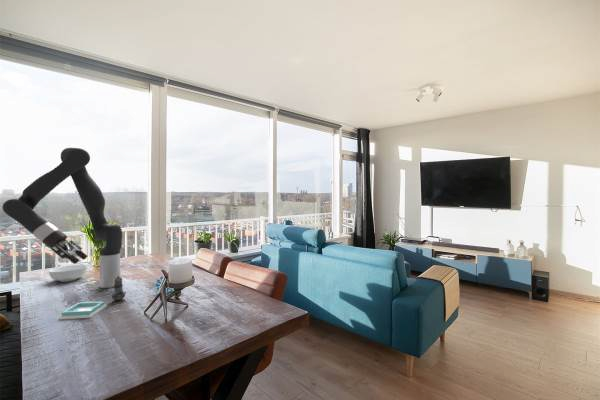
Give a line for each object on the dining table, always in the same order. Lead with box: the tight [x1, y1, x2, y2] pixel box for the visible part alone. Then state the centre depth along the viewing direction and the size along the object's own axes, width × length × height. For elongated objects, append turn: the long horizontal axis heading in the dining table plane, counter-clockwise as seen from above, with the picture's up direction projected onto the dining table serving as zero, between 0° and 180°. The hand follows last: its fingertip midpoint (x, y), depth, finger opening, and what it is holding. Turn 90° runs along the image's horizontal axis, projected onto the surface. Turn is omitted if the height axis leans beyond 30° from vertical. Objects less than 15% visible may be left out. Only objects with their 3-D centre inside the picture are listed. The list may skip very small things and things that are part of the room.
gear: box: [155, 276, 174, 294], centre depth 145 cm, size 11×6×10 cm
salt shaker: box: [110, 276, 127, 305], centre depth 131 cm, size 6×6×12 cm
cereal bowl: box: [48, 264, 88, 283], centre depth 165 cm, size 17×17×7 cm
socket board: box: [58, 301, 108, 320], centre depth 119 cm, size 12×12×2 cm
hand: (81, 260), depth 126 cm, fingers open, 8 cm apart
